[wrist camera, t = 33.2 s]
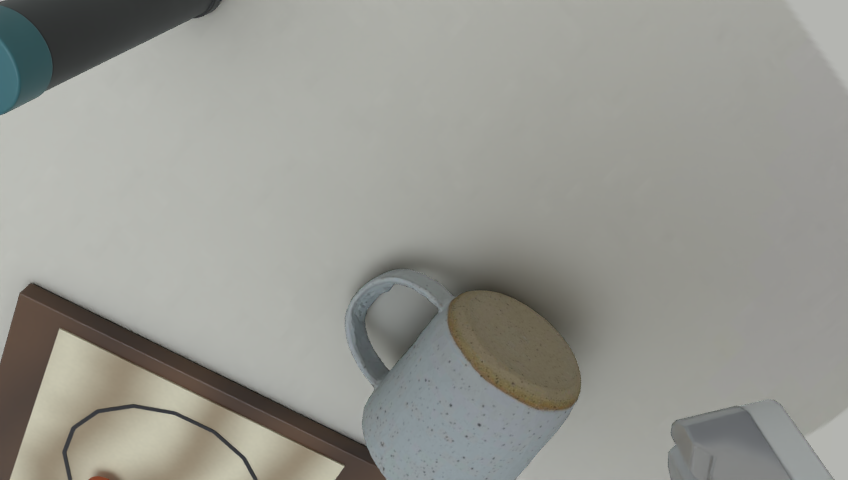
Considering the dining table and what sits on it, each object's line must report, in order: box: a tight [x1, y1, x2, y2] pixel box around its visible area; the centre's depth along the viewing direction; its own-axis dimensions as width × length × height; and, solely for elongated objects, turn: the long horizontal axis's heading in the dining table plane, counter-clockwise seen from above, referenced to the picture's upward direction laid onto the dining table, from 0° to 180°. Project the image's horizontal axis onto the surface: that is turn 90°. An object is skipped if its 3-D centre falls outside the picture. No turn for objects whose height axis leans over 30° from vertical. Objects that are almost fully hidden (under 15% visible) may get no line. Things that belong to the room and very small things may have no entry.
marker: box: [0, 0, 221, 115], centre depth 22 cm, size 3×3×13 cm
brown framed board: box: [0, 283, 387, 480], centre depth 42 cm, size 22×18×1 cm
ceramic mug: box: [345, 269, 581, 480], centre depth 32 cm, size 11×8×8 cm
